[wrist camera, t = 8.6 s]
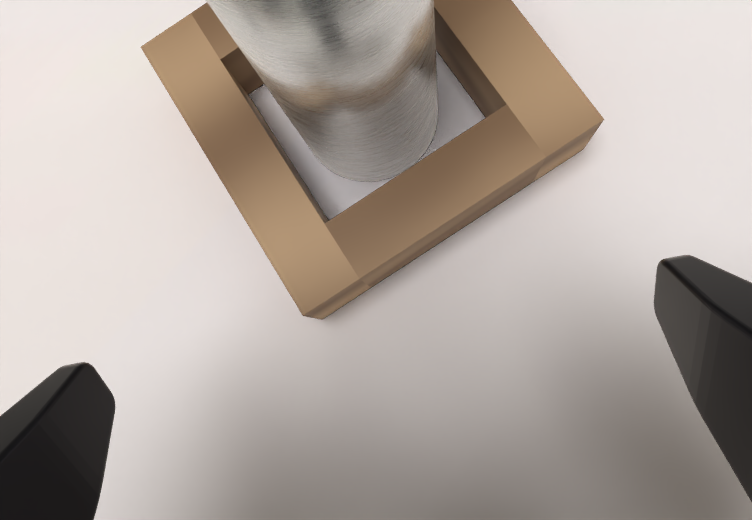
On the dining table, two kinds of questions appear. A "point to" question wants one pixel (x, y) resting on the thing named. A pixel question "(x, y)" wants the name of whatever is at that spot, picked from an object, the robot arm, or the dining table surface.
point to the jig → (409, 189)
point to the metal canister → (346, 76)
